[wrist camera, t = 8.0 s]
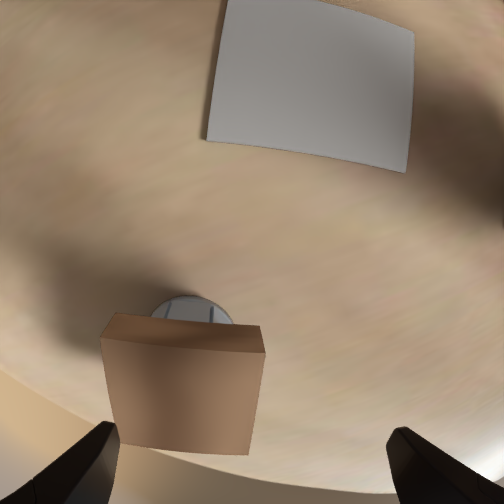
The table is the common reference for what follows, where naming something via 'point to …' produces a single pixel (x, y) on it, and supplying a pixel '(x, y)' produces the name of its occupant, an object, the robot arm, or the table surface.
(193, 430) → the block
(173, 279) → the table surface
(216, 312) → the grey ring collar
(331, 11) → the mat
